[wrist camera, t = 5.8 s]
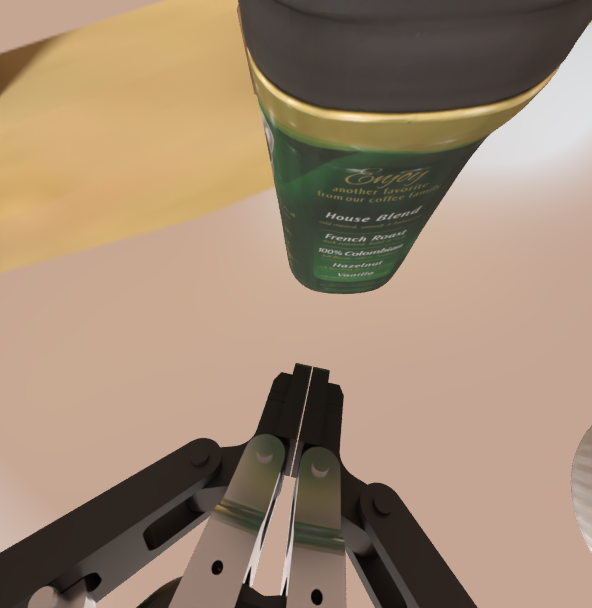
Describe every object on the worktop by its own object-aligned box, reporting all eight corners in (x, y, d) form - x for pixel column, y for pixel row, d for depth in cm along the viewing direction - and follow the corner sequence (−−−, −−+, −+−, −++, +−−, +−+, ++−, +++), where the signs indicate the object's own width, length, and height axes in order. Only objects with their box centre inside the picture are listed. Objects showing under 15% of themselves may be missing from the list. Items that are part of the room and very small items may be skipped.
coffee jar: (402, 296, 21) (988, -216, 3) (286, 298, 21) (134, -135, 3) (392, 172, 23) (682, -570, 5) (287, 176, 23) (201, -493, 5)
